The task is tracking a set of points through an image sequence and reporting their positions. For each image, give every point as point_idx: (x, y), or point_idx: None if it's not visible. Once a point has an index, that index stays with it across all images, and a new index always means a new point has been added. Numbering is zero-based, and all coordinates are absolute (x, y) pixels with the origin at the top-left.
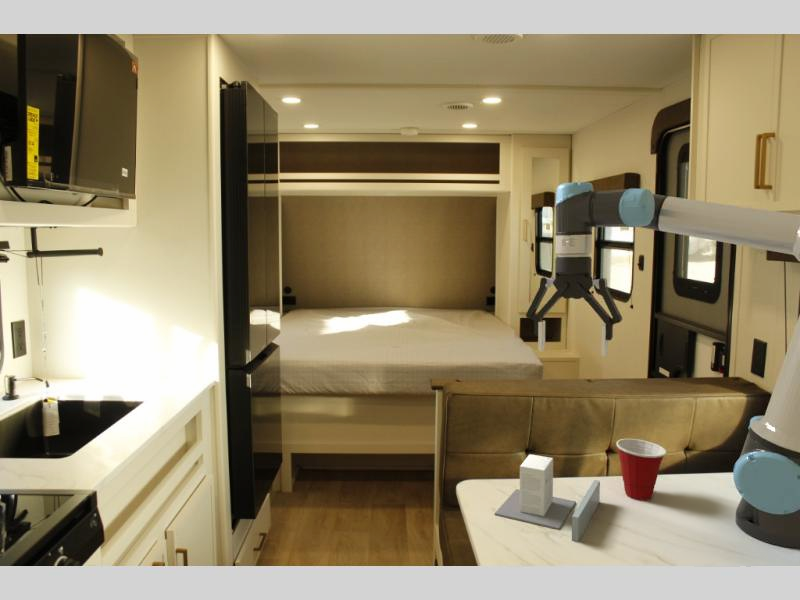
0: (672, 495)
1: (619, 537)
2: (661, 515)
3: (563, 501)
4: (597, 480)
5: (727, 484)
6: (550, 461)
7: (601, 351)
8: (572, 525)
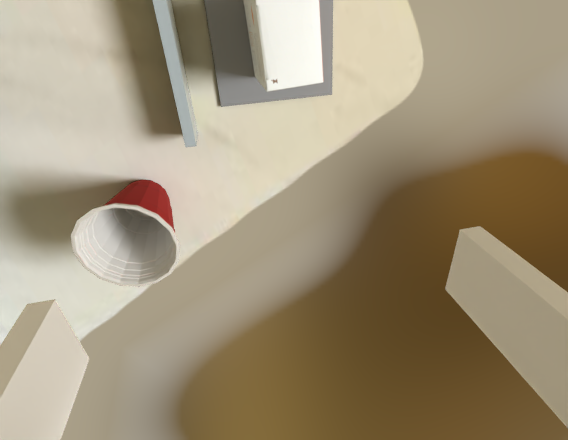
0: None
1: (88, 2)
2: (77, 144)
3: (239, 92)
4: (190, 146)
5: None
6: (264, 66)
7: (38, 326)
8: None
